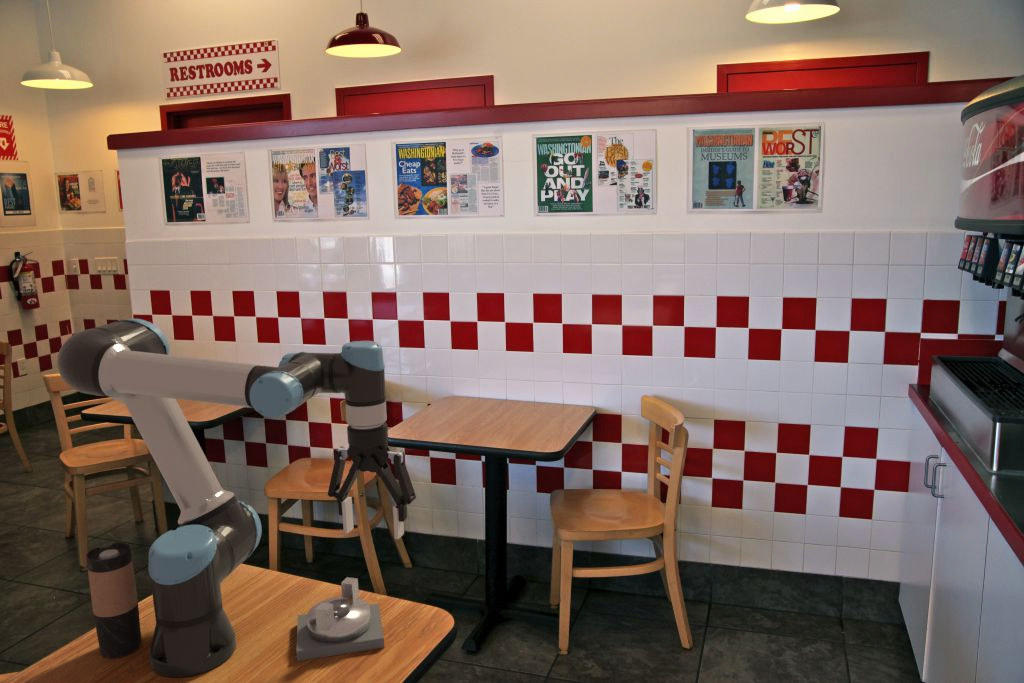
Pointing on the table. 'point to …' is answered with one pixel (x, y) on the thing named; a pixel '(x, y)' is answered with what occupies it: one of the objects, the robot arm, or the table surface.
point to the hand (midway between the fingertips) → (373, 533)
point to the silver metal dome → (340, 615)
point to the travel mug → (114, 599)
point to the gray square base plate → (318, 649)
